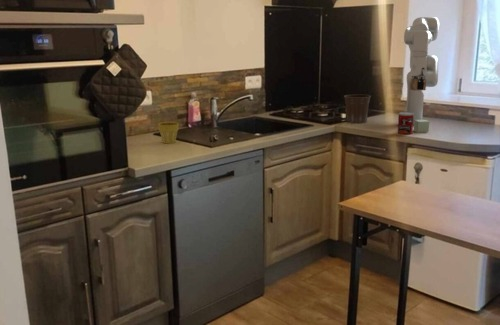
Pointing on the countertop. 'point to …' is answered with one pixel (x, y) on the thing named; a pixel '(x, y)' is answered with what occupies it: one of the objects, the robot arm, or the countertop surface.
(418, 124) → the cube sage
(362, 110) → the plant pot
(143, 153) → the countertop surface
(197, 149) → the countertop surface
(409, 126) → the canned food
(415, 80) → the cube walnut
